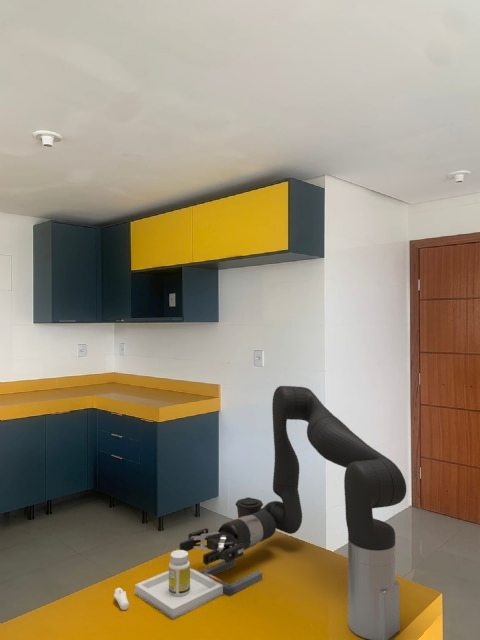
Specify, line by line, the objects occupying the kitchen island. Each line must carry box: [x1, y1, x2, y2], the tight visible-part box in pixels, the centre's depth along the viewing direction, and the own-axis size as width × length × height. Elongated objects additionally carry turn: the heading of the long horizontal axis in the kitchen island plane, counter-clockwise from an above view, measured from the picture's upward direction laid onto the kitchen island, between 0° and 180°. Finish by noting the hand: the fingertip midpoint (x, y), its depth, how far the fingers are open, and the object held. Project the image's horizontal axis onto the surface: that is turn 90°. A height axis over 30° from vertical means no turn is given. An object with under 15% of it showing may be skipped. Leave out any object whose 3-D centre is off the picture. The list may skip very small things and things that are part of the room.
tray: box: [134, 567, 224, 620], centre depth 114 cm, size 14×14×2 cm
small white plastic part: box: [113, 587, 130, 611], centre depth 109 cm, size 4×6×3 cm, turn 6°
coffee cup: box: [235, 497, 264, 519], centre depth 147 cm, size 8×8×10 cm
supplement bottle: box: [168, 549, 191, 596], centre depth 114 cm, size 5×5×8 cm
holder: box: [198, 559, 263, 597], centre depth 121 cm, size 11×11×2 cm
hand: (191, 554), depth 116 cm, fingers open, 8 cm apart
